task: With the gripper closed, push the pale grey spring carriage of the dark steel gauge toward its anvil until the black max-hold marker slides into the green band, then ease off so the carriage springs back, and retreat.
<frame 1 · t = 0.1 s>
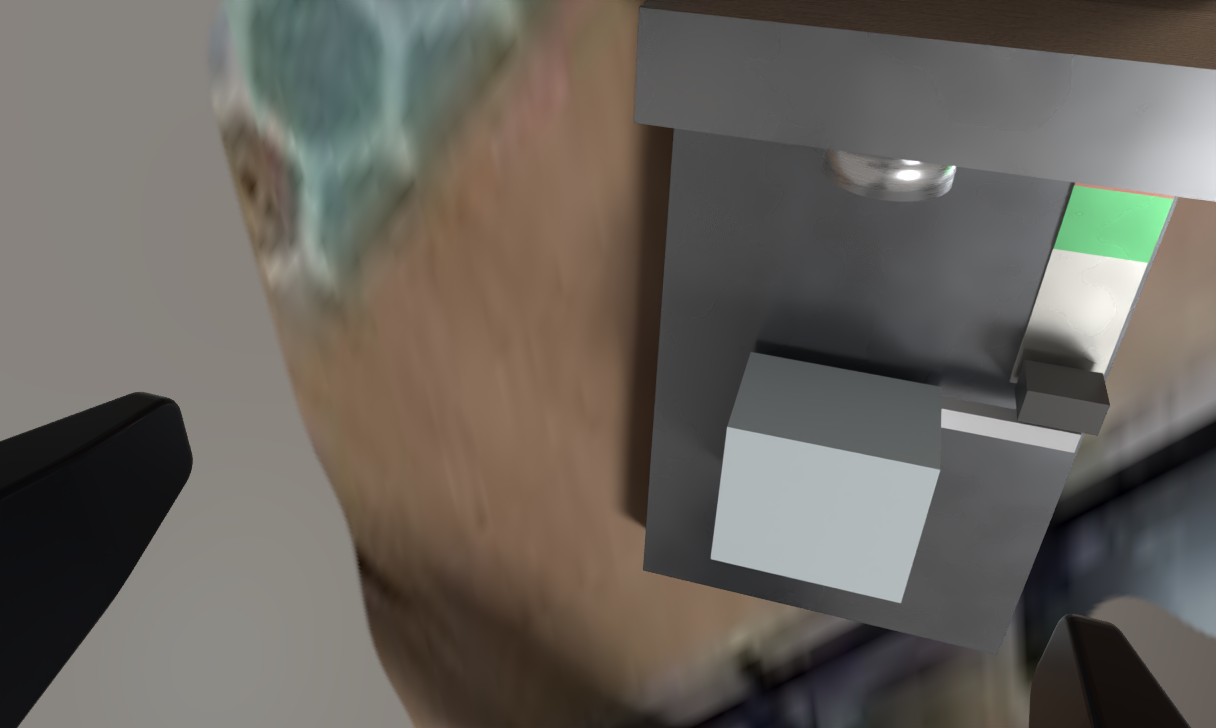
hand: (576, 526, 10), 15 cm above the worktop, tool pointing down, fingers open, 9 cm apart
max marker: (1060, 396, 21), point 2 cm above the worktop, slide at 0.0 cm
gauge base: (871, 333, 24), on the worktop
spring carriage: (887, 487, 22), point 3 cm above the worktop, slide at 0.0 cm
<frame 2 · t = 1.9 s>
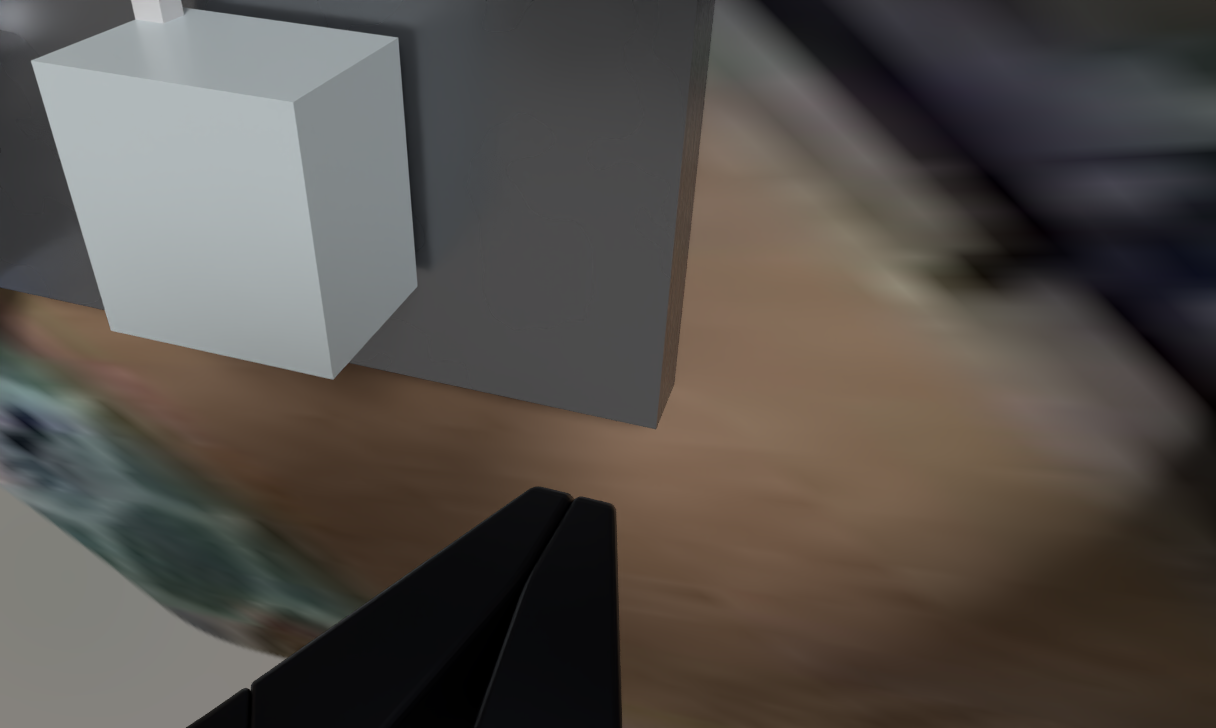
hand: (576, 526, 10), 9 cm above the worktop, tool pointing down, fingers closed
gauge base: (251, 75, 18), on the worktop
spring carriage: (233, 99, 14), point 3 cm above the worktop, slide at 0.0 cm
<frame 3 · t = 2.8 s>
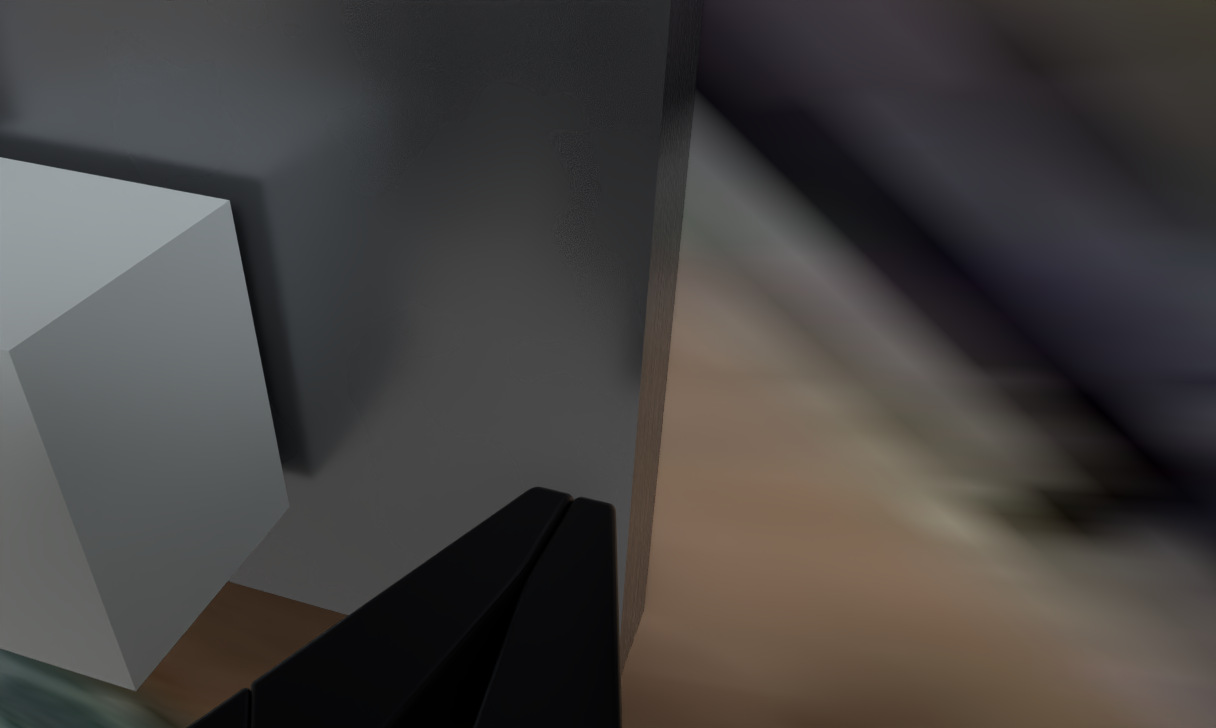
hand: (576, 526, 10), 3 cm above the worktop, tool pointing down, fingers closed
gauge base: (76, 212, 13), on the worktop
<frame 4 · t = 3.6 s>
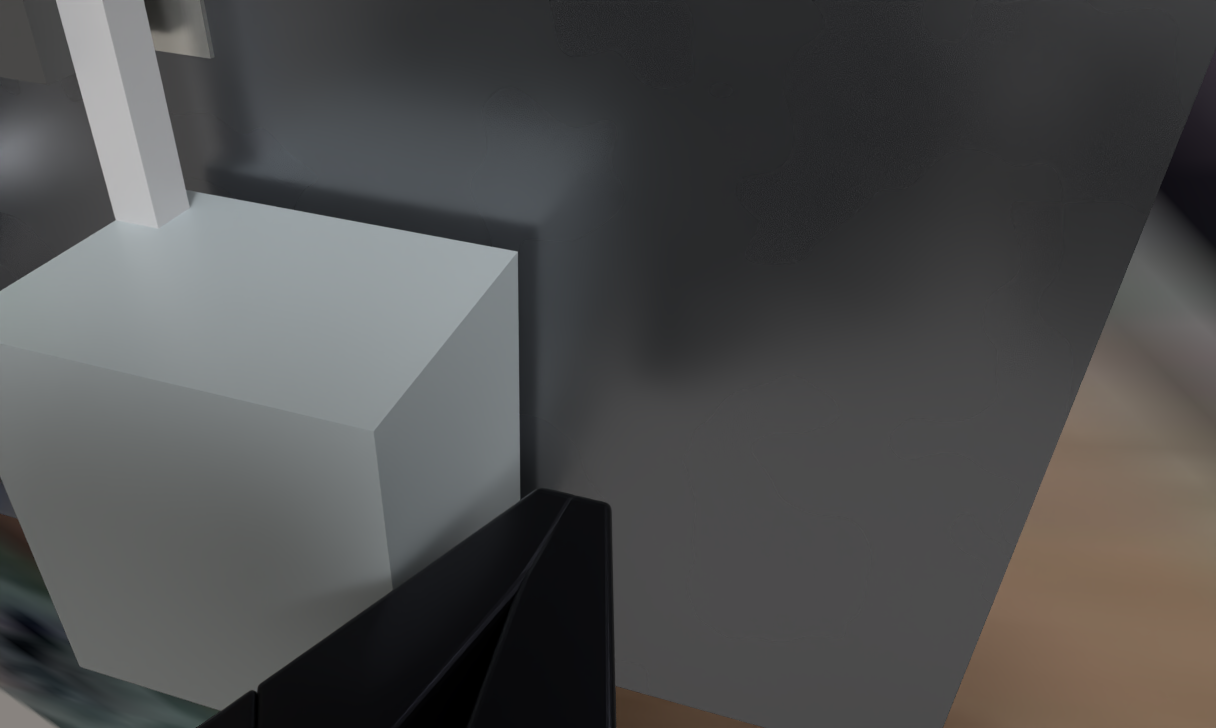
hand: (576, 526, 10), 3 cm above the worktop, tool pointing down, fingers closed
gauge base: (348, 264, 13), on the worktop
spring carriage: (266, 354, 9), point 3 cm above the worktop, slide at 1.0 cm, touching gripper, max marker
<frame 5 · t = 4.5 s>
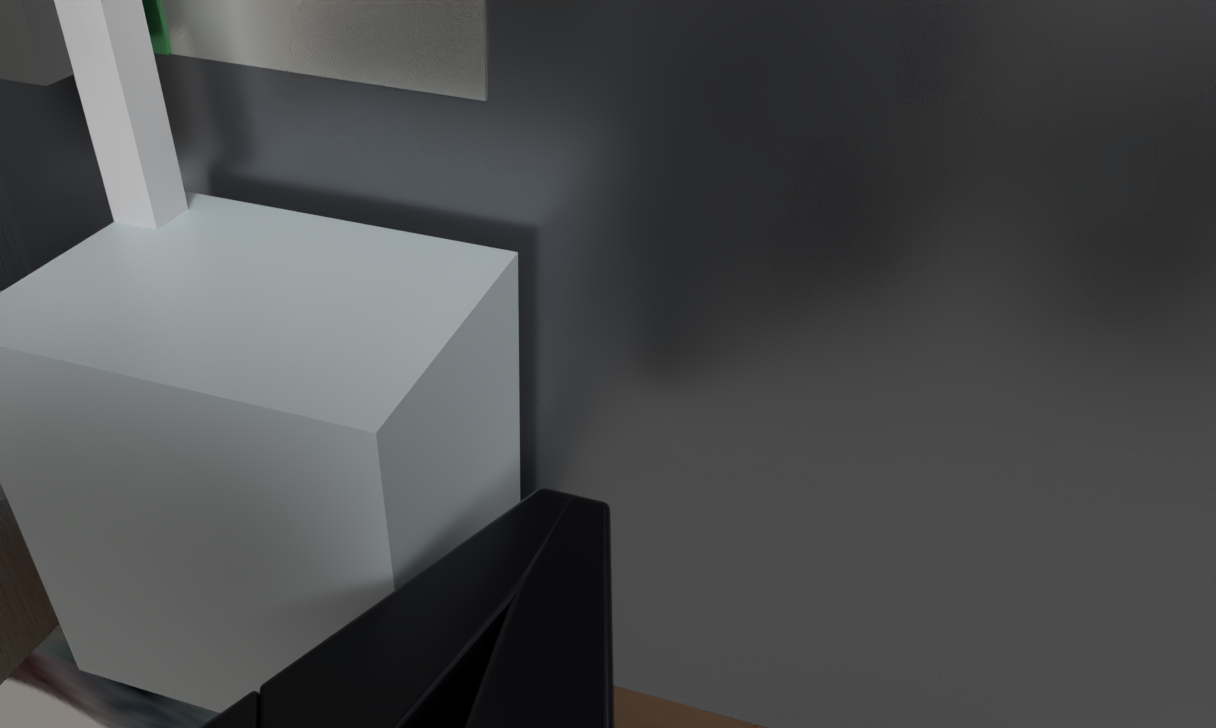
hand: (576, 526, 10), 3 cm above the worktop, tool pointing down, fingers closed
gauge base: (562, 306, 12), on the worktop
spring carriage: (266, 356, 9), point 3 cm above the worktop, slide at 3.9 cm, touching gripper, max marker
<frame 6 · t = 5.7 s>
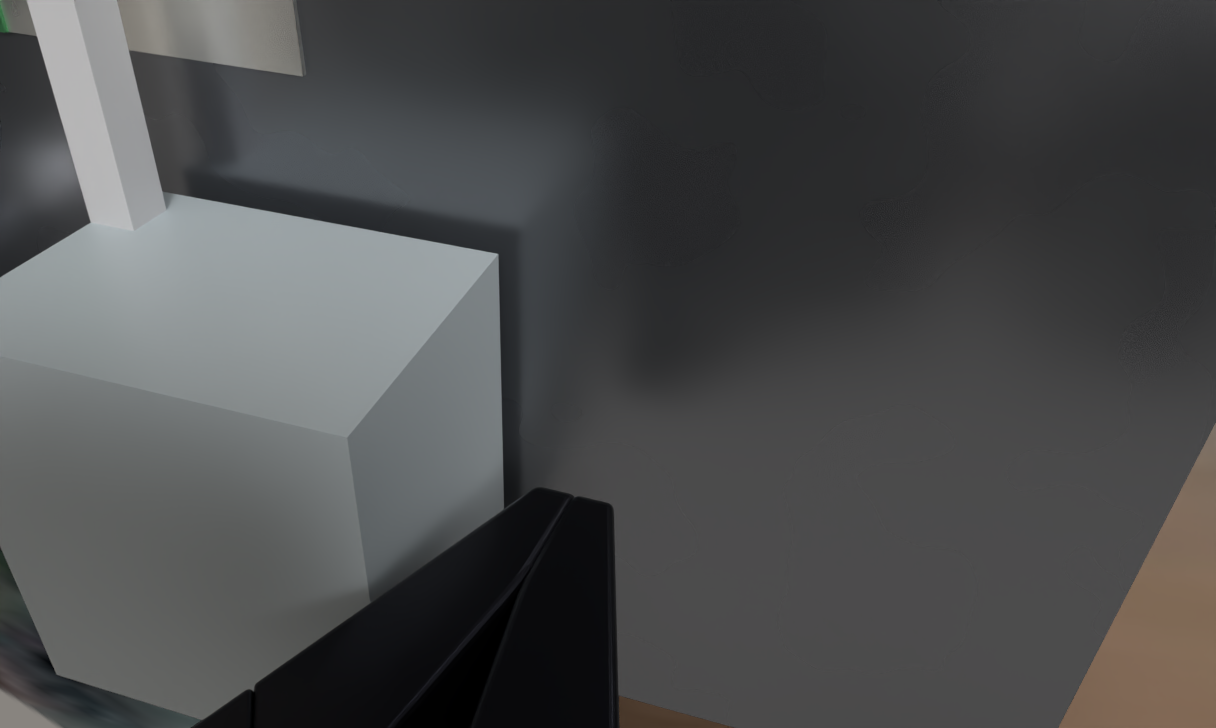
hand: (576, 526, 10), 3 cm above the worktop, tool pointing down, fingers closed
gauge base: (422, 284, 12), on the worktop
spring carriage: (242, 358, 9), point 3 cm above the worktop, slide at 2.2 cm, touching gripper
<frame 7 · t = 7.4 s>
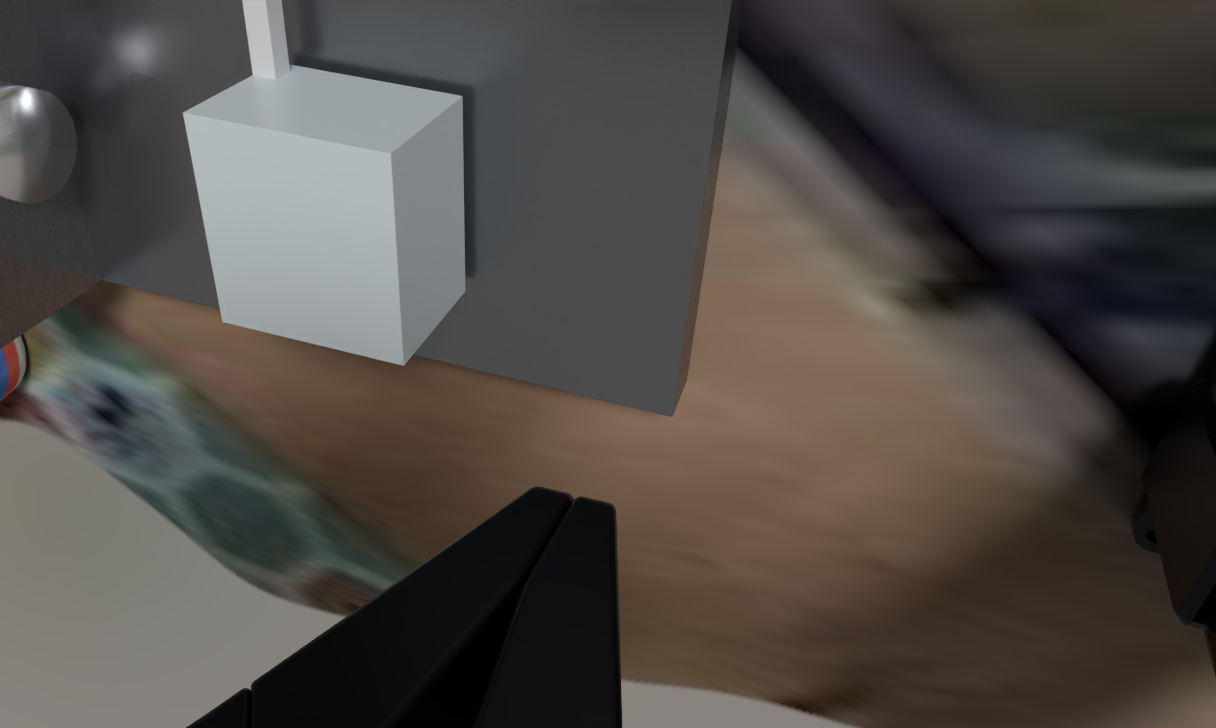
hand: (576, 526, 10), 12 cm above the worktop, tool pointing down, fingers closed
gauge base: (345, 116, 22), on the worktop
spring carriage: (332, 142, 18), point 3 cm above the worktop, slide at 0.4 cm
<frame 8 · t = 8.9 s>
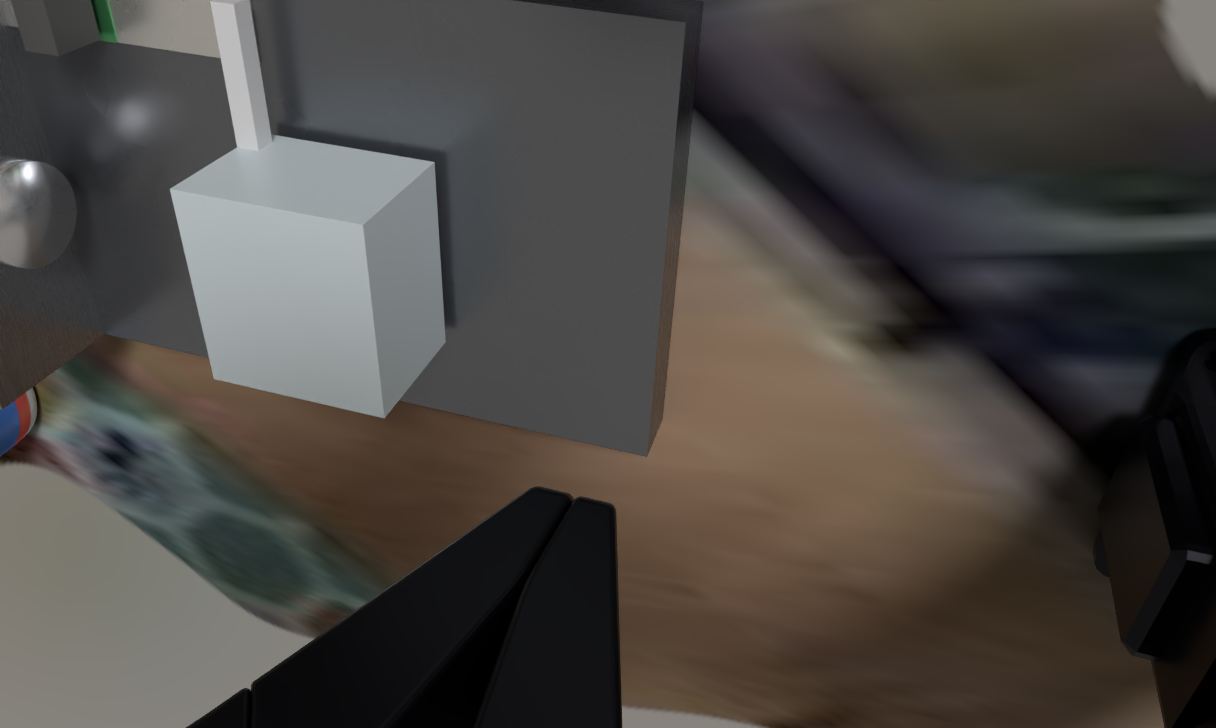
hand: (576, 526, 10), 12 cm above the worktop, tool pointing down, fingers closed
max marker: (52, 5, 20), point 2 cm above the worktop, slide at 3.6 cm
gauge base: (329, 177, 23), on the worktop
spring carriage: (312, 209, 19), point 3 cm above the worktop, slide at 0.4 cm
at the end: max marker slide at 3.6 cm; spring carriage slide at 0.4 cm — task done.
